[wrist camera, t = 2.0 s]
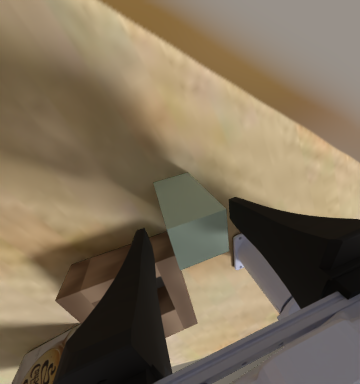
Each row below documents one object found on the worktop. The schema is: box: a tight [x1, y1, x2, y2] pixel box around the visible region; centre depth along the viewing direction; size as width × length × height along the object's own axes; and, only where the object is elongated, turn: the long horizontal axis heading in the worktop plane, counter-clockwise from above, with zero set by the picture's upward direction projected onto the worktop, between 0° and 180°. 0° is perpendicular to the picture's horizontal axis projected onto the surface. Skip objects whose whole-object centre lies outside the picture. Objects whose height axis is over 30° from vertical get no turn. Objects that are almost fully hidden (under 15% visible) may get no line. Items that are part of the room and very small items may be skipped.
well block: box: [55, 232, 197, 338], centre depth 20 cm, size 12×16×4 cm
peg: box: [153, 173, 229, 270], centre depth 14 cm, size 4×4×8 cm
